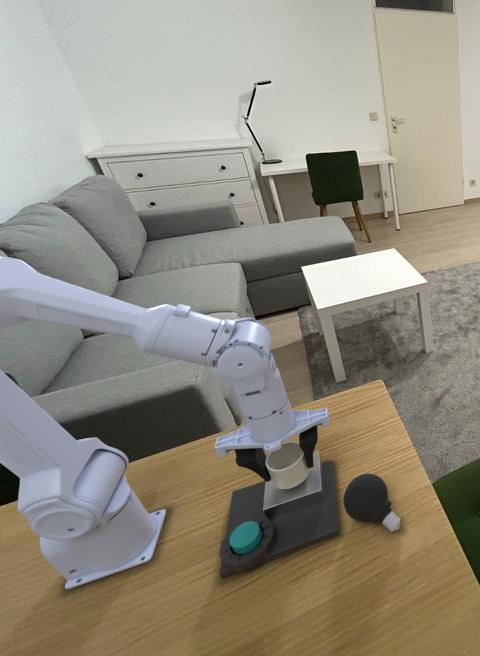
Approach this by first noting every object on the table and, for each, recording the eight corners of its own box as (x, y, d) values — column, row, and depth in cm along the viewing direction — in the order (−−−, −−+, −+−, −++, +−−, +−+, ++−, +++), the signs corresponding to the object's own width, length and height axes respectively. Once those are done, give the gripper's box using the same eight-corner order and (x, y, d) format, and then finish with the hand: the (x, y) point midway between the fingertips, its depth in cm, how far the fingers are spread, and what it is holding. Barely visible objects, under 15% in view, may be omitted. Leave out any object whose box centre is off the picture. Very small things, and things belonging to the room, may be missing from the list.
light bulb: (391, 533, 53) (340, 484, 55) (378, 557, 55) (329, 509, 58) (419, 501, 58) (371, 457, 61) (406, 524, 61) (360, 481, 64)
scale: (221, 586, 51) (213, 574, 50) (235, 496, 62) (229, 484, 61) (340, 540, 56) (336, 528, 55) (333, 465, 67) (329, 453, 66)
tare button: (231, 558, 52) (227, 552, 51) (235, 533, 55) (231, 526, 54) (261, 547, 53) (258, 541, 52) (263, 523, 56) (260, 517, 55)
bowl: (272, 496, 58) (263, 476, 55) (274, 467, 62) (266, 447, 60) (311, 483, 59) (304, 463, 57) (310, 455, 64) (304, 436, 62)
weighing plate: (270, 526, 58) (262, 509, 56) (273, 481, 65) (266, 465, 63) (326, 506, 61) (321, 490, 59) (324, 465, 67) (319, 449, 65)
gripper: (197, 442, 48) (233, 510, 54) (322, 408, 52) (341, 474, 59) (208, 404, 53) (239, 469, 60) (320, 376, 58) (337, 439, 65)
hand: (290, 469), depth 60 cm, fingers closed on bowl, 5 cm apart
